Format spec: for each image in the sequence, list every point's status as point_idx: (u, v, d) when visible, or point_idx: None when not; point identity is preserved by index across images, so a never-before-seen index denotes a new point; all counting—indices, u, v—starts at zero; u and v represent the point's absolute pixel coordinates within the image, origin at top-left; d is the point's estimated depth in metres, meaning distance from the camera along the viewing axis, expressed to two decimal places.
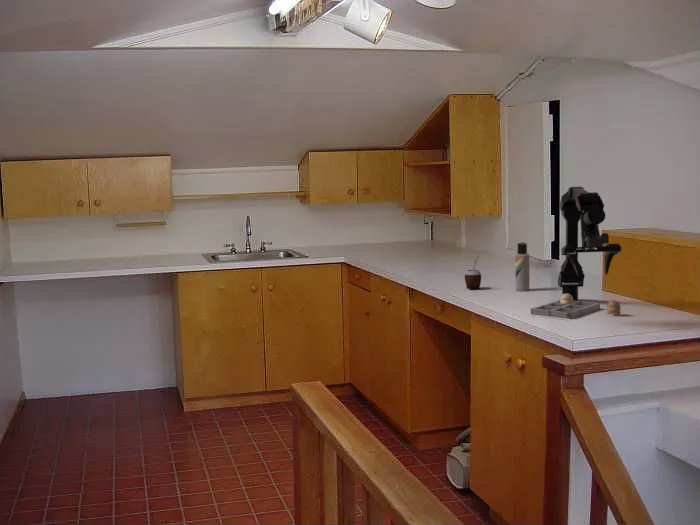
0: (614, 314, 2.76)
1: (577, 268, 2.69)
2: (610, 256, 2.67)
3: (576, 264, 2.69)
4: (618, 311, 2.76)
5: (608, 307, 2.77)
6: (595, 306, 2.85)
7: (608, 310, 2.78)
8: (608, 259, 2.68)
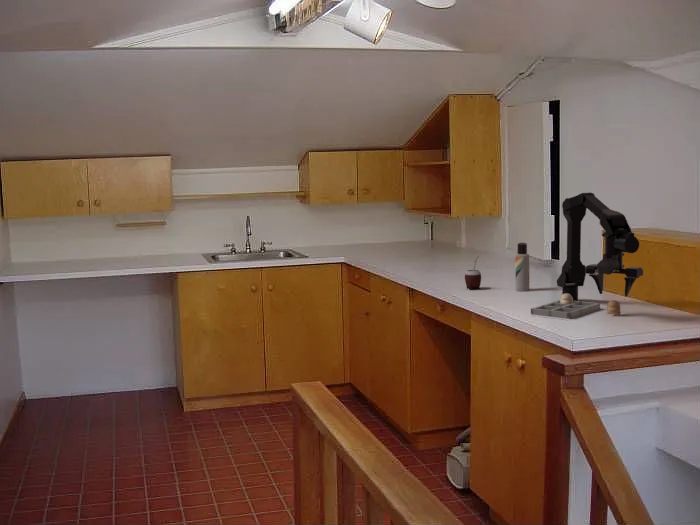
0: (614, 314, 2.76)
1: (598, 288, 2.80)
2: (627, 280, 2.72)
3: (597, 284, 2.80)
4: (618, 311, 2.76)
5: (608, 307, 2.77)
6: (595, 306, 2.85)
7: (608, 310, 2.78)
8: (626, 282, 2.73)
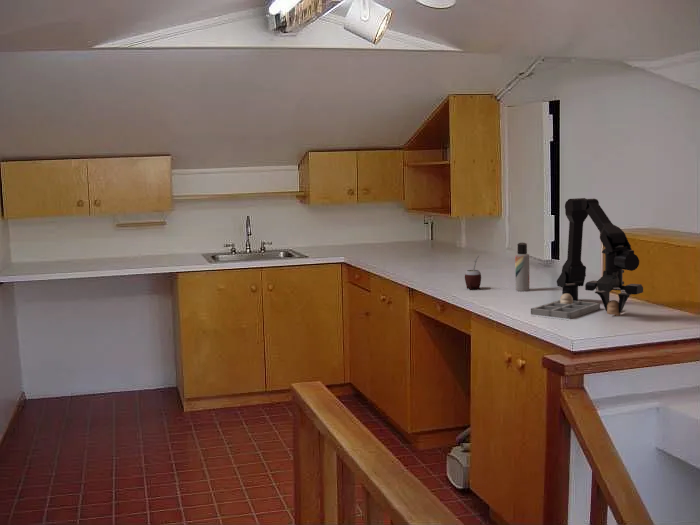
0: (614, 314, 2.76)
1: (604, 305, 2.79)
2: (620, 297, 2.74)
3: (603, 301, 2.79)
4: (618, 311, 2.76)
5: (608, 307, 2.77)
6: (595, 306, 2.85)
7: (608, 310, 2.78)
8: (620, 299, 2.75)
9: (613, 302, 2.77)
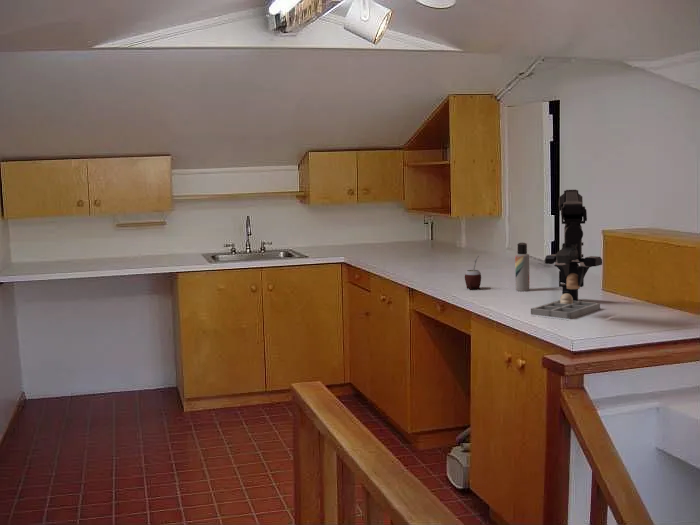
0: (573, 287, 2.74)
1: (564, 278, 2.77)
2: (579, 269, 2.71)
3: (563, 274, 2.76)
4: (577, 284, 2.74)
5: (568, 280, 2.74)
6: (595, 306, 2.85)
7: (567, 283, 2.75)
8: (579, 272, 2.72)
9: (572, 275, 2.74)
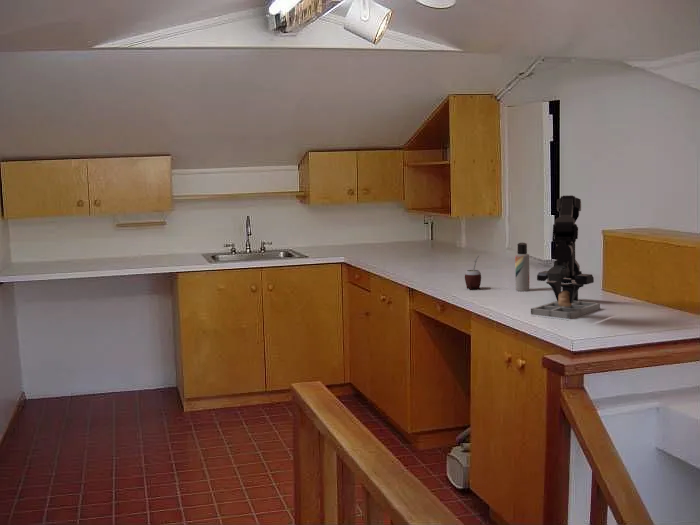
0: (565, 304, 2.74)
1: (556, 295, 2.77)
2: (571, 287, 2.72)
3: (555, 291, 2.77)
4: (569, 301, 2.75)
5: (559, 297, 2.75)
6: (595, 306, 2.85)
7: (559, 300, 2.76)
8: (570, 289, 2.73)
9: (564, 292, 2.75)
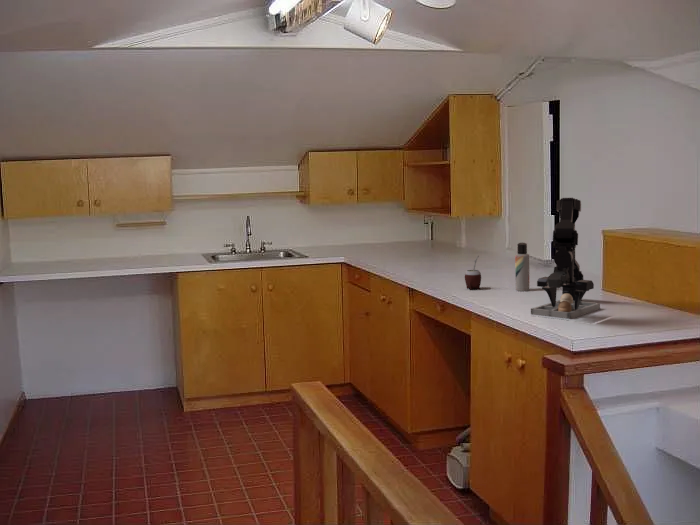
0: None
1: (551, 301, 2.79)
2: (576, 293, 2.71)
3: (550, 297, 2.79)
4: None
5: (559, 308, 2.76)
6: (595, 306, 2.85)
7: None
8: (575, 296, 2.72)
9: (564, 303, 2.75)
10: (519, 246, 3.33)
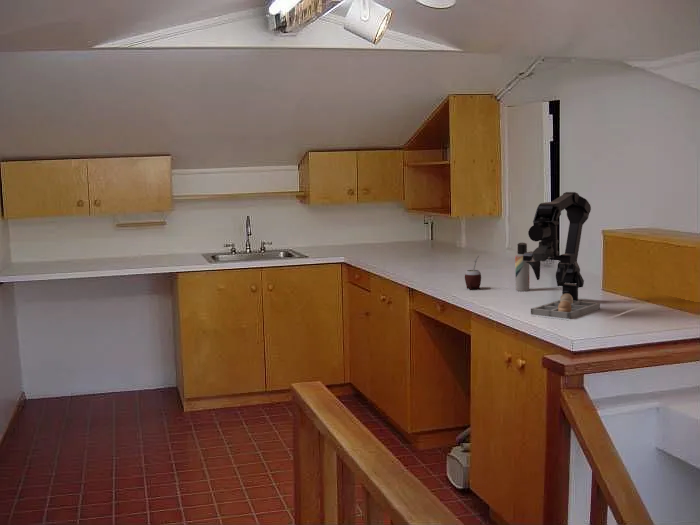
0: None
1: (535, 274, 2.93)
2: (561, 266, 2.85)
3: (534, 270, 2.93)
4: None
5: (559, 308, 2.76)
6: (595, 306, 2.85)
7: None
8: (560, 268, 2.85)
9: (564, 303, 2.75)
10: (519, 246, 3.33)
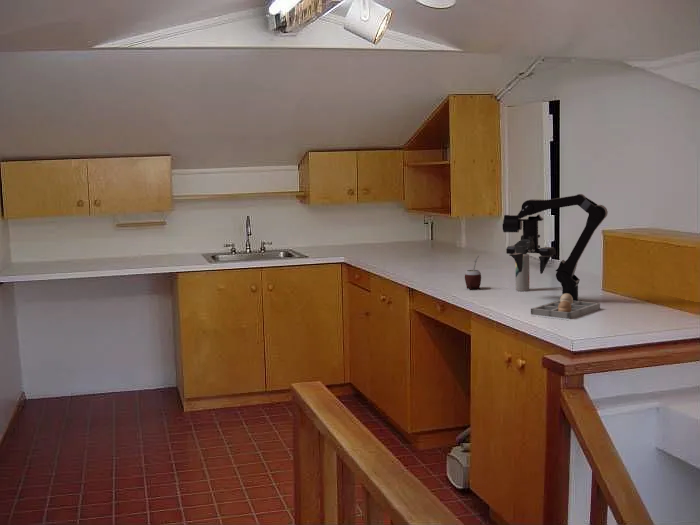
0: None
1: (518, 266, 3.12)
2: (541, 259, 3.04)
3: (517, 263, 3.12)
4: None
5: (559, 308, 2.76)
6: (595, 306, 2.85)
7: None
8: (540, 261, 3.04)
9: (564, 303, 2.75)
10: None
